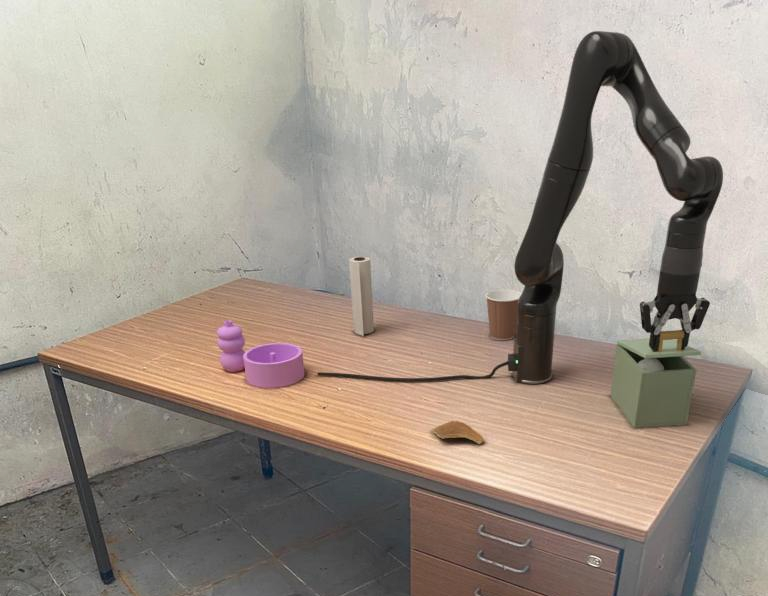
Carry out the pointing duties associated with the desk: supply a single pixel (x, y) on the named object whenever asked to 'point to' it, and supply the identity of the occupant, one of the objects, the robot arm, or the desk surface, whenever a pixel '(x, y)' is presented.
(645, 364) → the white lumpy piece
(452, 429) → the pottery shard
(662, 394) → the chest
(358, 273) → the beige tall hexagonal prism
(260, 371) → the container set
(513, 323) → the coffee cup
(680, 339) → the lid
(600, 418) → the desk surface
